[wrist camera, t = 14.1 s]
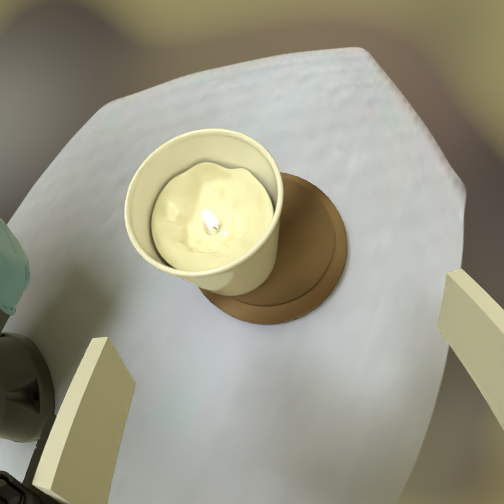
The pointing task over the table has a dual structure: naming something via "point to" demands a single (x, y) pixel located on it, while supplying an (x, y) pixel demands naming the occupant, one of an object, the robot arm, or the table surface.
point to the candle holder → (208, 210)
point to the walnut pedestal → (295, 260)
